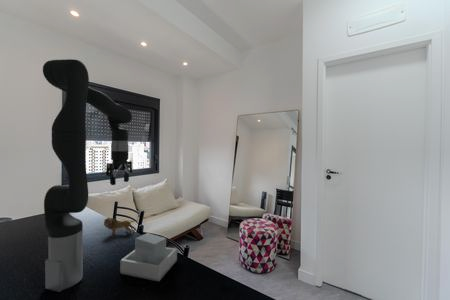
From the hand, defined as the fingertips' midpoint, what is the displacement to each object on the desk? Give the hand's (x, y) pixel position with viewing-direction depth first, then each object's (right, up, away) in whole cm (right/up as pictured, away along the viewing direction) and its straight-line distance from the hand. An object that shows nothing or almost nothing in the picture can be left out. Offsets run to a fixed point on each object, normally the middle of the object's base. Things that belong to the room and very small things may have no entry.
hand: (119, 183), depth 99 cm
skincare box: (+22, -29, -20) cm, 42 cm away
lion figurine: (-5, -28, +8) cm, 30 cm away
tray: (+22, -29, -20) cm, 42 cm away
